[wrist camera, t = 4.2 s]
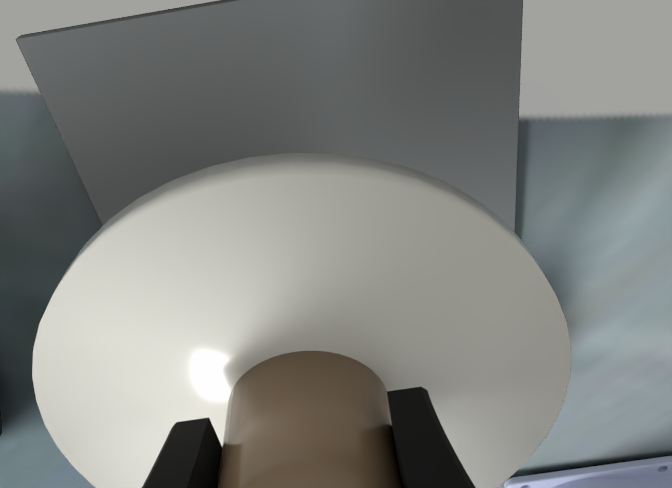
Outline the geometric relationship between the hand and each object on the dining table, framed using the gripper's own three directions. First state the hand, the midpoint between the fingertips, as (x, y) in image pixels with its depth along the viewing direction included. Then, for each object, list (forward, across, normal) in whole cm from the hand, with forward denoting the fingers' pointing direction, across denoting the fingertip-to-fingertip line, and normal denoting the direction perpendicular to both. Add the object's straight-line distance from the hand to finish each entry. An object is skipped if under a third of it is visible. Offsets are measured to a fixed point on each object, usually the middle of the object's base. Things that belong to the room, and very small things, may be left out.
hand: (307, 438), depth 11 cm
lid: (+2, 0, 0) cm, 2 cm away
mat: (+10, 0, 0) cm, 10 cm away
